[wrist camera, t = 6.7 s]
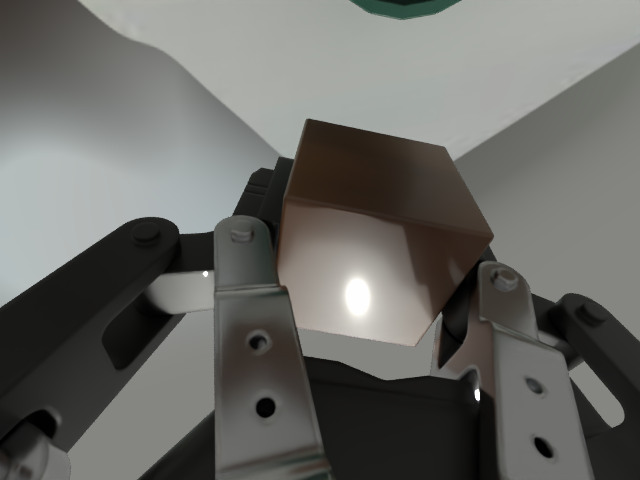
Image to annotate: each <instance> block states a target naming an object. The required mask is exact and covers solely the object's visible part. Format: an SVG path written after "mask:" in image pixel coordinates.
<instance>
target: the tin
mask: <svg viewBox="0 0 640 480" xmlns="http://www.w3.org/2000/svg"><path fill="white" fill-rule="evenodd" d="M350 1H351V2H353V3H354V4H356V5H358V6H359V7H361V8H362V9H364V10H365V11H367V12H368V13H371V14H374V15H379V16H384V17H389V18H394V19H399V20H406V19H411V18H417V17H422V16H428V15H434V14H436V13H439V12H441V11H443V10H445V9H446V8H448V7H450V6H452V5H454V4H456V3H457V2H459V1H461V0H350Z"/></svg>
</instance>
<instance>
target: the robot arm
mask: <svg viewBox="0 0 640 480" xmlns="http://www.w3.org/2000/svg"><path fill="white" fill-rule="evenodd" d="M293 162H294V159H290V158H285V157H279V158H278V161H277V164H276V166H275V169H274V170H271V169H265V168H260V169H259V170H257V171H256V172H254V173H253V174H252V175H251V177H250V179H249V181H248V184H247V185H246V187H245V189H244V192H243V194H242V196H241V198H240V200H239V202H238V205H237V206H236V208H235V210H234V213H233V215H232V216H231V217H228V218H225V219H223V220H222V221H220V222H219V223H218V224H217V225H216V227H215V229H214V231H211V232H207V233H196V234H179V229H178V228H177V226H176V225H175V224H174V223H173V222H171V221H169V220H167V219H164V218H159V217H145V218H139V219H135V220H132V221H129V222H127V223H125V224H123V225H122V226H120V227H119V228H117V229H116V230H115V231H113V232H111V233H110V234H108V235H107V236H106V237H104V238H103V239H101V240H100V241H98V242H97V243H95V244H94V245H92V246H91V247H89V248H88V249H86V250H85V251H83V252H82V253H80V254H79V255H77V256H76V257H74V258H73V259H72V260H70V261H69V262H67V263H66V264H64V265H63V266H61V267H60V268H58V269H57V270H55V271H54V272H52V273H51V274H49V275H48V276H46V277H45V278H43V279H42V280H40V281H39V282H38V283H36V284H35V285H33V286H32V287H30V288H29V289H27V290H26V291H24V292H23V293H21V294H20V295H18V296H17V297H15V298H14V299H12V300H11V301H9V302H8V303H7V304H5V305H4V306H2V307H1V308H0V480H69V479H70V472H71V465H70V460H69V457H68V455H67V453H68V451H69V450H70V449H71V448H72V447H73V446H74V444H75V443H76V442H77V441H78V439H80V437H81V436H82V435H83V434H84V432H85V431H86V430H87V429H88V428H89V427H90V426H91V425H92V423H93V422H94V421H95V420H96V419H97V418H98V416H99V415H100V414H101V413H102V412H103V411H104V409H105V408H106V407H107V406H108V405H109V403H110V402H111V401H112V400H113V399H114V398H115V396H116V395H117V394H118V393H119V392H120V391H121V389H122V388H123V387H124V386H125V385H126V384H127V383H128V381H129V380H130V379H131V378H132V377H133V376H134V374H135V373H136V372H137V371H138V370H139V369H140V367H141V366H142V365H143V364H144V363H145V362H146V360H147V359H148V358H149V357H150V356H151V355H152V353H153V352H154V351H155V350H156V349H157V348H158V346H159V345H160V344H161V343H162V342H163V341H164V339H165V338H166V337H167V336H168V335H169V333H170V332H171V331H172V330H173V329H174V328H175V326H176V325H177V324H178V323H179V322H180V321H181V320H182V318H183V317H184V316H185V315H186V313H190V312H198V311H207V310H214V378H215V379H214V380H215V381H214V385H215V409H214V410H213V411H212V412H211V413H210V414H209V415H208V416H207V417H206V418H204V419H203V420H202V421H201V422H200V423H199V424H198V425H197V426H196V427H195V428H193V429H192V430H191V431H190V432H189V433H188V434H187V435H186V436H185V437H184V438H183V439H182V440H180V441H179V442H178V443H177V444H176V445H175V446H174V447H173V448H172V449H170V450H169V451H168V452H167V453H166V454H165V455H164V456H163V457H162V458H161V459H159V460H158V461H157V462H156V463H155V464H154V465H153V466H152V467H151V468H150V469H148V470H147V471H146V472H145V473H144V474H143V475H142V476H141V477H140V478H139V479H137V480H640V342H639V341H638V340H637V339H636V338H635V337H634V336H633V335H632V334H631V333H630V332H629V331H628V330H627V329H626V328H625V327H624V326H623V325H622V324H621V323H620V322H619V321H618V320H617V319H616V318H615V317H614V316H613V315H612V314H611V313H610V312H609V311H607V310H606V309H605V308H604V307H602V306H601V305H600V304H598V303H597V302H595V301H593V300H592V299H590V298H588V297H585V296H583V295H579V294H574V293H569V294H566V295H564V296H563V297H562V298H561V299H560V300H559V301H558V302H556V303H554V302H552V301H549V300H547V299H544V298H542V297H539V296H537V295H535V294H532V293H531V291H530V287H529V285H528V283H527V282H526V280H525V279H524V278H523V277H522V276H521V275H520V274H519V273H518V272H517V271H515V270H514V269H512V268H511V267H509V266H507V265H505V264H502V263H499V262H497V260H496V258H495V256H494V255H493V252H492V250H491V249H490V247H489V245H488V247H487V248H486V250H485V251H484V252H483V254H482V255H481V257H480V258H479V259H478V261H477V262H476V263H475V265H474V266H473V268H472V269H471V270H470V272H469V273H468V275H467V276H466V277H465V279H464V280H463V282H462V283H461V284H460V286H459V287H458V288H457V290H456V291H455V293H454V294H453V295H452V297H451V298H450V300H449V301H448V302H447V304H446V305H445V306H444V308H443V309H442V311H441V312H442V317H441V318H440V319H439V321H438V322H437V325H436V330H435V339H434V346H433V354H432V362H431V370H430V375H429V376H421V377H413V378H405V379H396V380H383V379H380V378H377V377H375V376H372V375H370V374H368V373H365V372H363V371H360V370H358V369H355V368H353V367H350V366H348V365H346V364H344V363H341V362H339V361H333V360H326V359H320V358H314V357H307V356H303V354H302V349H301V345H300V340H299V336H298V332H297V327H296V322H295V318H294V313H293V309H292V304H291V300H290V295H289V292H288V289H287V287H286V285H281V284H280V280H279V275H278V270H277V265H276V253H277V245H278V237H279V229H280V221H281V213H282V205H283V197H284V194H285V190H286V187H287V183H288V180H289V176H290V173H291V169H292V166H293ZM584 361H585V362H586V363H587V364H588V365H589V367H590V368H591V369H592V370H593V371H594V373H595V374H596V375H597V376H598V377H599V379H600V380H601V381H602V382H603V383H604V385H605V386H606V387H607V388H608V389H609V390H610V392H611V393H612V394H613V395H614V396H615V398H616V399H617V400H618V401H619V402H620V404H621V405H622V407H623V410H624V414H625V418H624V421H623V422H622V423H621V424H620V425H618V426H616V427H613V428H611V427H610V426H609V425H608V424H607V423H606V422H605V421H604V420H603V419H602V418H601V416H600V415H599V414H598V413H597V411H596V410H595V409H594V407H593V406H592V405H591V403H590V402H589V401H588V400H587V398H586V397H585V396H584V394H583V393H582V392H581V391H580V389H579V388H578V387H577V385H576V384H575V383H574V382H573V380H572V379H571V378H570V377H569V373H568V372H569V371H570V370H572V369H573V368H575V367H576V366H578V365H579V364H580V363H582V362H584Z"/></svg>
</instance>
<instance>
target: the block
mask: <svg viewBox="0 0 640 480" xmlns="http://www.w3.org/2000/svg"><path fill="white" fill-rule="evenodd" d="M493 237H494V234H493V233H492V231H491V229H490V227H489V225H488V223H487V222H486V220H485V218H484V216H483V215H482V213H481V211H480V209H479V207H478V205H477V204H476V202H475V200H474V198H473V196H472V195H471V193H470V191H469V189H468V188H467V186H466V184H465V182H464V180H463V179H462V177H461V175H460V173H459V171H458V170H457V168H456V166H455V165H454V162H453V161H452V159H451V157H450V155H449V153H448V152H447V150H446V148H445V147H443V146H438V145H433V144H429V143H424V142H419V141H414V140H409V139H405V138H400V137H395V136H390V135H385V134H380V133H376V132H371V131H366V130H361V129H356V128H352V127H347V126H342V125H337V124H332V123H328V122H323V121H318V120H313V119H306V121H305V124H304V128H303V131H302V135H301V138H300V141H299V145H298V148H297V152H296V155H295V159H294V162H293V166H292V169H291V173H290V176H289V180H288V183H287V187H286V190H285V194H284V197H283V205H282V213H281V221H280V229H279V237H278V245H277V253H276V265H277V270H278V275H279V280H280V284H281V285H286V287H287V289H288V292H289V295H290V300H291V304H292V309H293V313H294V318H295V322H296V327H297V328H302V329H308V330H313V331H319V332H326V333H332V334H338V335H344V336H350V337H356V338H363V339H368V340H375V341H381V342H387V343H393V344H399V345H405V346H411V347H415V346H416V345H417V344H418V343H419V341H420V339H421V338H422V337H423V336H424V334H425V333H426V331H427V330H428V329H429V327H430V326H431V325H432V323H433V322H434V320H435V319H436V318H437V316H438V315H439V313H440V312H441V311H442V309H443V308H444V306H445V305H446V304H447V302H448V301H449V300H450V298H451V297H452V295H453V294H454V293H455V291H456V290H457V288H458V287H459V286H460V284H461V283H462V282H463V280H464V279H465V277H466V276H467V275H468V273H469V272H470V270H471V269H472V268H473V266H474V265H475V263H476V262H477V261H478V259H479V258H480V257H481V255H482V254H483V252H484V251H485V250H486V248H487V247H488V245H489V244H490V243H491V241H492V240H493Z"/></svg>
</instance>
